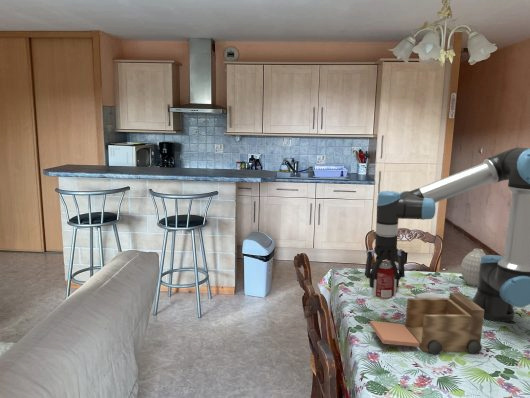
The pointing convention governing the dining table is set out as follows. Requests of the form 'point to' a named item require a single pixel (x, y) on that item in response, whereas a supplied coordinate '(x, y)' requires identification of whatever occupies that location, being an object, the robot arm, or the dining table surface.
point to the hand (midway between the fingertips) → (383, 295)
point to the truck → (445, 323)
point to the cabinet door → (394, 334)
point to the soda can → (384, 281)
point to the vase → (472, 266)
